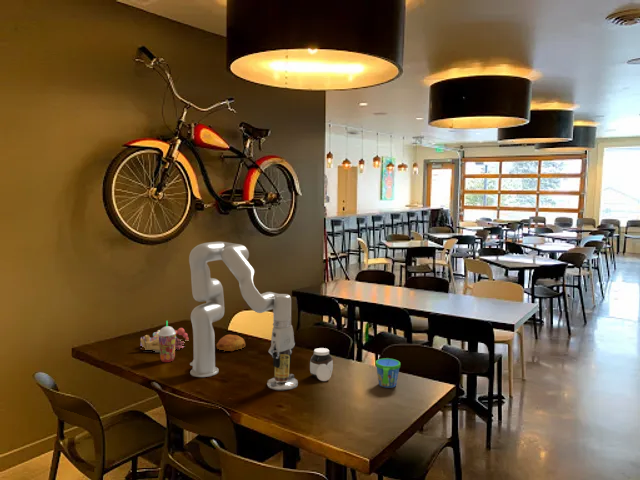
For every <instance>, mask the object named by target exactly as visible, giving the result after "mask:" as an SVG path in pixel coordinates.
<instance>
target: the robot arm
mask: <svg viewBox="0 0 640 480" xmlns="http://www.w3.org/2000/svg"><path fill="white" fill-rule="evenodd" d="M249 257H250V252H249V249H248V248H247V247H246V246H245V245H243V244H240V243H234V242H233V243H232V242H227V241H210V242H204V243H200V244H197V245H196V246H195V247H193V248H192V249H191V251H190V253H189V257H188V263H189V268H190V279H191V281H190V283H191V292H192V293H191V294H192V297H193V299H194V300H195V301H196V302H199V303H201V302H204V303H202V304H199V305H197V306H195V307H194V308H193V309H192V311H191V313H190V322H191V325H192V340H193V341H192V348H193V351H192V352H193V360H192V361H191V362H189V365H190V366H192V369H191V370H190V372H189V373H190V375H191V377H196V378H206V377H207V378H208V377H212V376H215V375H217V374H219V368H218V367H217V366H216V344H215V343H216V342H215V341H216V339H215V337H216V336H215V330H214V326H213V323H215V322H218V321H220V320H221V319H222V318H223V317H224V315H225V298H224V297H225V296H224V286H223V285H222V283H221V281H220V280H218V279H217V278H215V277H214V278H213V277H211V270H210V266H209V264H208V263H209V262H214V261H222V262H223V263H224V264H225V265H226V267H227V268H228V270H229V271H230V273H232V275H233V276H234V277H235V279H236V280H237V282H238V283H239V284H238V285H239V290H240V294H241V296H242V298H243V300H244V301H245V302H246V304H247V305H248V307H250V309H251V310H252V311H253V312H255V313H257V314H262V313H265V312H268V311H271V310H273V317H272V318H273V323H272V326H273V327H272V331H271V338H270V339H271V341H270V344H271V345H270V347H269V349H268V353H269V354H270V356H271V357H272V358H273V359H272V362H273V363H272V364H273V365H272V366H273V367H274V368H275V367H277V368H279V367H280V358H279V355H280V352H283V351H286V350H289V349H290V363H289V364H291V363H292V353H293V350H294V348H295V345H296V342H295V336H294V335H295V333H294V328H293V327H294V326H293V325H292V297H291V295H290V294H288V293H277V292H272V291H266V292H263V293H260V292H259V290H258V289H257V288H256V286H255V284H254V275H255V273H256V271H255V269H254V267H253V266H252V265H251V264H250V262H249V260H248V259H249ZM205 302H206V303H205ZM276 352H277V355H276Z"/></svg>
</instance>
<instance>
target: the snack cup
mask: <svg viewBox="0 0 640 480" xmlns="http://www.w3.org/2000/svg"><path fill="white" fill-rule="evenodd" d="M375 367H376V373H377V379H378V380H377V381H378V385H379V386H380V387H382V388H385V389H392V388H395V387H396V386H397V383H398V378H399V373H400V368H401V362H400V361H399V360H397V359H394V358H389V357H386V358H385V357H384V358H379V359H377V360H376V361H375Z"/></svg>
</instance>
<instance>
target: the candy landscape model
mask: <svg viewBox="0 0 640 480" xmlns="http://www.w3.org/2000/svg"><path fill="white" fill-rule="evenodd" d="M160 330H161V329H158V330H157V331H155V332H153V333H152V337H150V334H146V335H144V336H141V337H140V346H142V347H144V348H145V350H153V351H155V352H154V353H160V348H159V336H158V333H159V332H160ZM174 330H175V332H176V336H177V335H178V336H182V337H183V338H184V339H185V341H189V340H190V339H189V336H188V333H187V332H186V331H185V329H184V328H183V327H179V328H178V329H177V330H176V329H174ZM181 340H182V339H180V338H178V337H176V341H175V350H176V349H177V350H180V348H182V349H183V348H184V346H182V345H184V343H185V342H184V341H181ZM189 342H190V341H189ZM140 346H139V347H140ZM177 350H176V351H177Z"/></svg>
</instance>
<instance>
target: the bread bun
mask: <svg viewBox="0 0 640 480" xmlns="http://www.w3.org/2000/svg"><path fill="white" fill-rule="evenodd" d="M244 347H245V348H246V341H245V339H244V338H243V337H241V336H239V335H237V334H231V333H229V334H226V335H224V336H222V337H221V338H220V339H219V340H218V342H217V343H216V344H215V349H217V350H218V349H219V351H220V350H224V351H223V352H225V351H234V350H238V349H241V350H243V349H242V348H244ZM245 348H244V349H245ZM238 351H239V350H238Z"/></svg>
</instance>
